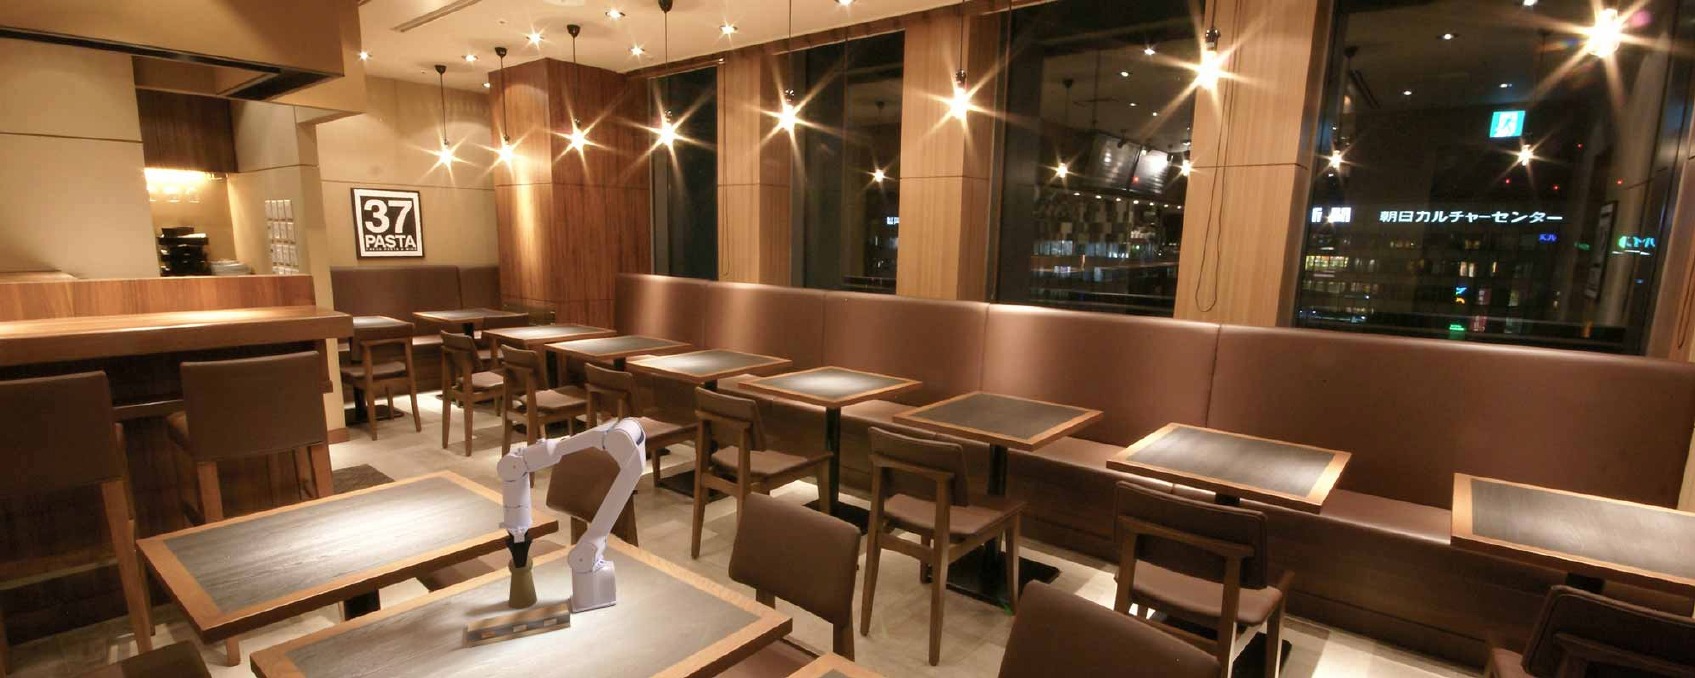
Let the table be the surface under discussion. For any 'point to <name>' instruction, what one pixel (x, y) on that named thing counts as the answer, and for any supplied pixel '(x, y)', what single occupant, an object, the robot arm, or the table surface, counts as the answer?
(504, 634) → the shelf board
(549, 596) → the table surface
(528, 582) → the cork
